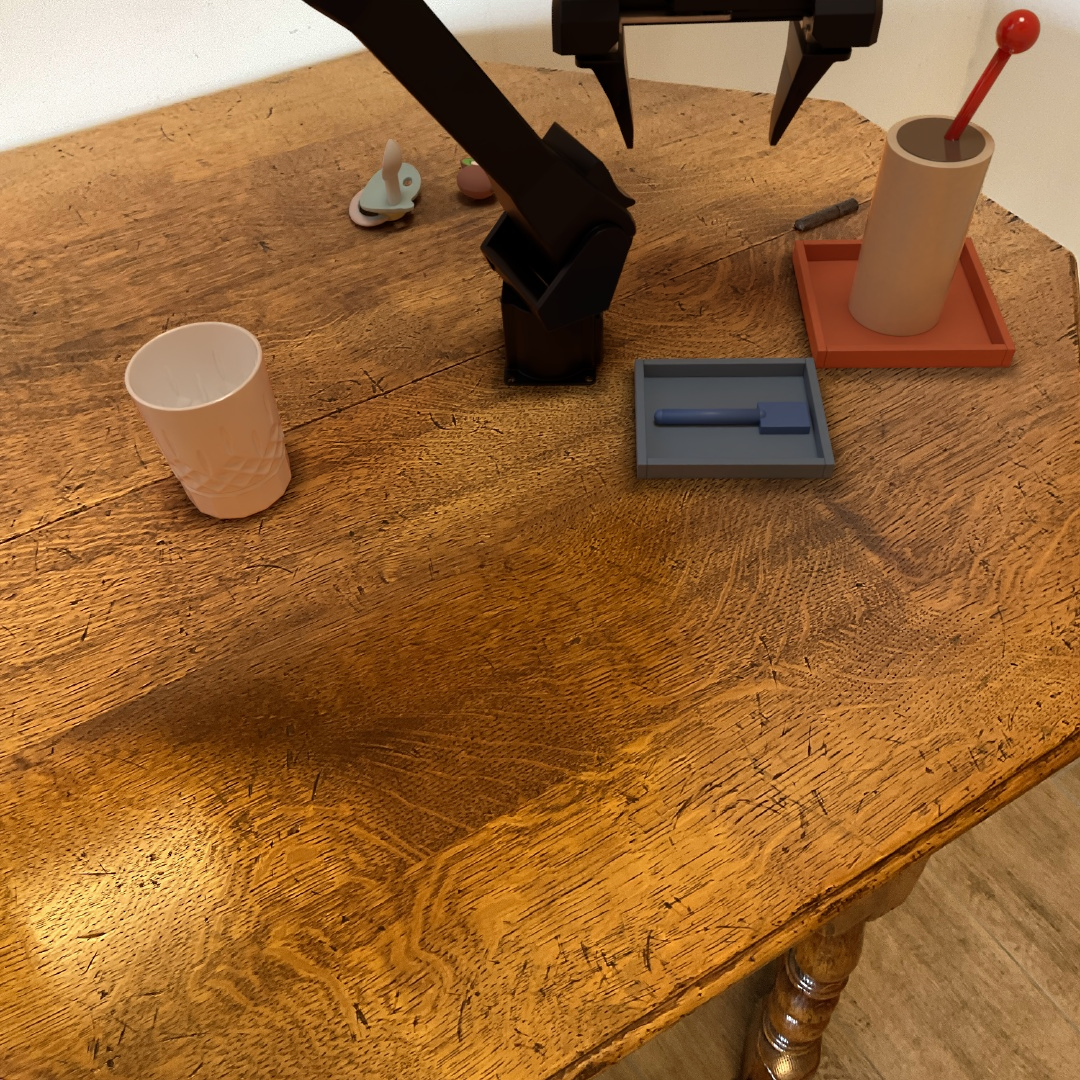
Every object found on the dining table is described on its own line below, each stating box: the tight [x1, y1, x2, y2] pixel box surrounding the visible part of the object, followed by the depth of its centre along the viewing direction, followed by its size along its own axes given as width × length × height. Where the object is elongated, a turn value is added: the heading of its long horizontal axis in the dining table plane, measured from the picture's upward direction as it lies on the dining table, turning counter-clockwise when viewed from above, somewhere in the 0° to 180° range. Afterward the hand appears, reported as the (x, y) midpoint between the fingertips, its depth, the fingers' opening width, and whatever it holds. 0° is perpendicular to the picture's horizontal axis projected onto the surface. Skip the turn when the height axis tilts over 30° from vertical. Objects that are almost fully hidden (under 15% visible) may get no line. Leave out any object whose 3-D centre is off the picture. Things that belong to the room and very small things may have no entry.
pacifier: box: [348, 138, 422, 227], centre depth 83 cm, size 7×6×6 cm
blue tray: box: [633, 357, 836, 479], centre depth 66 cm, size 12×10×2 cm
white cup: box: [124, 321, 292, 520], centre depth 62 cm, size 8×8×10 cm
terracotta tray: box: [791, 237, 1017, 369], centre depth 73 cm, size 13×13×2 cm
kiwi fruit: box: [456, 157, 495, 200], centre depth 86 cm, size 6×5×3 cm
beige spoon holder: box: [848, 8, 1041, 336], centre depth 65 cm, size 8×7×20 cm
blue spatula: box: [654, 402, 811, 434], centre depth 66 cm, size 10×2×1 cm, turn 87°
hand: (700, 144), depth 65 cm, fingers open, 9 cm apart
